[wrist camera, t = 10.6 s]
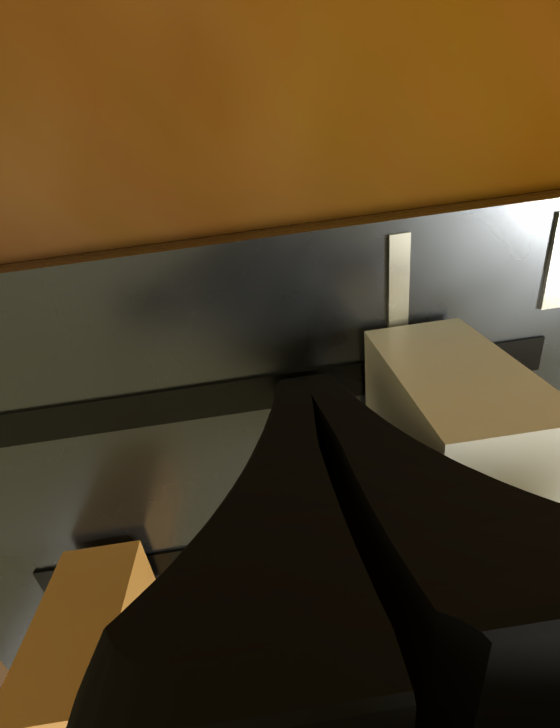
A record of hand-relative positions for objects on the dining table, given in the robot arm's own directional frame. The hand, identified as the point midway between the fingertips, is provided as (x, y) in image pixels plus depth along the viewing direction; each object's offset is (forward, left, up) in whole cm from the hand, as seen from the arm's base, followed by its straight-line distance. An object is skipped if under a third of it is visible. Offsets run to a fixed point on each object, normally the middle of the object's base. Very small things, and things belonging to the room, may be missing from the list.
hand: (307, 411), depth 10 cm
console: (-3, +1, -2) cm, 4 cm away
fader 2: (0, -3, -1) cm, 3 cm away
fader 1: (-6, +7, -1) cm, 9 cm away
